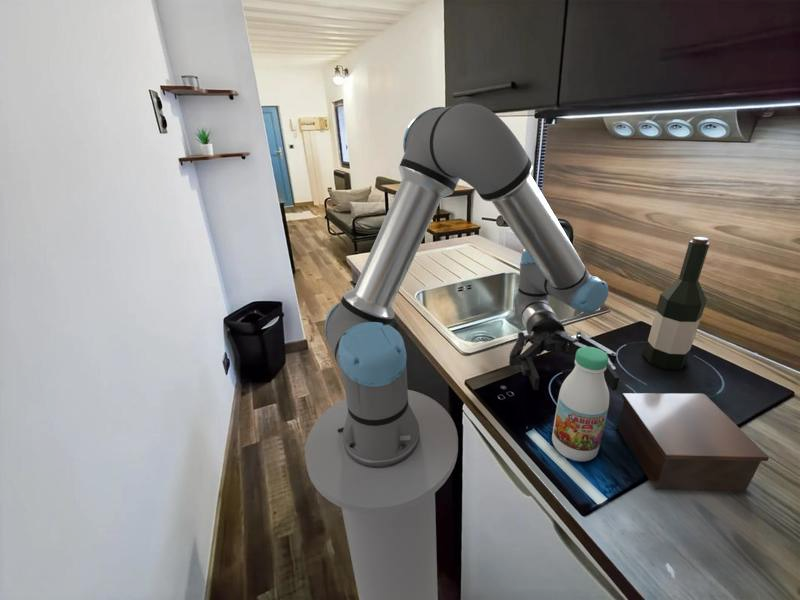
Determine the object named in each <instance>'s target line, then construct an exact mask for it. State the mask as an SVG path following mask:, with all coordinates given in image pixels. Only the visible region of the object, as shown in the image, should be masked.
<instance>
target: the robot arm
mask: <svg viewBox="0 0 800 600" xmlns="http://www.w3.org/2000/svg"><path fill="white" fill-rule="evenodd" d="M402 146H403V147H402V149H403V151H404V152H403V153H404V154H403V156H402V159H401V161H400V163H399V166H398V171H399V173H400V176H401V181H400V183H399V185H398V188H397V190H396V192H395V195H394V197H393V200H392V201H391V204H390V206H389V209H388V210H387V213H386V216H385V218H384V219H383V221H382V224H381V227H380V229H379V232H378V234H377V236H376V238H375V241H374V243H373V245H372V247H371V249H370V252H369V254H368V257H367V258H366V261H365V263H364V266H363V267H362V270H361V273H360V275H359V277H358V279H357V281H356V284H355V286H354V288H352V289H349V290H347V291H345V292H344V293H343V295H342V296H341V299H340V301H339V302H338V303H335V305H333V306H332V307H331V309H330V310H329V311H328V313H327V315H326V317H325V322H324V334H325V338H326V342H327V343H328V346H329V348H330V350H331V353H332V355H333V357H334V360H335V363H336V365H337V368H338V370H339V373H340V376H341V378H342V382H343V386H344V393H345V398H346V401H347V406H348V413H347V417H346V421H345V425H344V427H343V428H340V429H338V432H339V433H340V432H343V442H344V448H345V451H346V453H347V454H348V456H349V457H350V458H351V459H352V460H353V461H355V462H356V463H358V464H360V465H362V466H365V467H370V468H386V467H390V466H394V465H397V464H399V463H401V462H403V461H404V460H406V459H407V458H408V457H409V456H410V455H411V454H412V453H413V452H414V451H415V449H416V447H417V445H418V443H419V424H418V421H417V419H416V417H415V415H414V413H413V411H412V409H411V407H410V405H409V403H408V390H409V389H408V388H409V387H408V372H407V357H408V356H407V351H406V350H407V349H406V346H405V341H404V339H403V337H402V334H401V333H400V331H398V330H397V329H396V328H394V327H393V326H391V325H392V322H393V321H394V318H395V315H396V314H395V312H394V309H393V304H394V302H395V300H396V298H397V295H398V293H399V290H400V289H401V287H402V284H403V283H404V280H405V277H406V276H407V273H408V272H409V269H410V267H411V265H412V263H413V261H414V259H415V256H416V255H417V252H418V250H419V248H420V246H421V244H422V242H423V239H424V237H425V235H426V233H427V231H428V229H429V227H430V224H431V223H432V220H433V218H434V216H435V215H436V212H437V210H438V207H439V205H440V204H441V201H442V199H444V198H445V197H448V196H450V195H453V194H454V192H455V189H456V187H457V185H458V183H459V181H463V182H465V183H467V184H468V185H469V186H470V187H472V188H473V189H474V190H475V191H476V193H477V194H478V195H479V197H480V198H481V199H482V200H483V201H485V202H491V203H492V204H493V206H494V207H495V209H496V210H497V211H498V213H499V214H500V216H501V217H502V218H503V220H504V221H505V223H506V224H507V225H508V227H509V229H510V230H511V231H512V233H513V235H515V237H516V238H517V240H518V241H519V243H520V244H521V245H522V247H523V249H522V251H521V257H520V263H519V277H518V289H517V291H515V294H514V296H513V304H514V305H513V306H514V308H515V311H516V312H517V315H518V316H519V318H520V320H521V322H522V324H523V327H524V328H525V330H526V332H527V335H526V334H525V333H524V332H522V331H518V332H517V339H516V342H515V343H514V346H513V347H512V349H511V351H510V352H509V361H508V365H509V366H511V367H514V366H518V371H520V372H521V373H522V375H523V376H524V377H528V378H529V382H530V384H531V386H532V389H533V391H539V388H540V380H541V378H540V376H539V373H538V371H537V368H536V366H535V364H534V362H533V360H534V359H535V358H536V357H537V356H538V355H539V356H540V355H541V354H543V353H544V352H545V351H546V352H547V353H552V352H558V353H561V352H562V353H564V354H567V355H573V356H576V352H577V350H578V349H579V348H582V347H594V348H597V349H600V350H602V351H604V352H605V353H606V354H607V355H608V363H607V366H606V370H605V371H604V378H605V382H606V384H607V386H609V388H610V389H611V390H612V391H617V390H618V386H619V383H620V377H619V375H618V374H617V372H616V370H617V369H616V366H615V364H616V359H617V355H618V354H617V353H616V352H615V351H613V350H611V349H609V348H608V347H606V346H604V345H603V344H600V343H599V342H597V341H595V340H594V339H592V338H590V337H589V336H587V335H586V334H585V333H584V332H583V331H581V330H580V331H577V332H576V334H572V335H571V334H570V333H569V332H566V329H565V327H564V325H563V323H562V321H561V320H560V319H559V317H558V315H557V313H556V312H555V311H554V310H553V308H552V307H551V305H550V297H553V298H554V299H556V300H558V301H560V302H561V303H563V304H565V305H567V306H569V307H571V309H572V310H573V309H574V310H577V311H580V312H582V313H584V314H592V313H595V312H597V311H598V310H600V308H601V307H602V306H603V305H604V304H605V303H606V301H607V299H608V296H609V292H610V291H609V286H608V284H607V282H606V281H604V280H603V279H600V278H599V277H598V276H596V275H595V276H594V275H592V274H591V273H590V272H589V270H588V269H587V267H586V266H585V264H584V262H583V261H582V259H581V257H580V256H579V253H578V252H577V250H576V249H575V247H574V246H573V244H572V242H571V241H570V239H569V236H568V235H567V233H566V232H565V230H564V228H563V227H562V225H561V224H560V222H559V220H558V218H557V216H556V215H555V214H554V212H553V210H552V209H551V207H550V205H549V203H548V202H547V199H546V198H545V196H544V195H543V193H542V191H541V189H540V188H539V186H538V184H537V182H536V181H535V179H534V178H533V176H532V174H531V173H532V171H533V163H532V161H531V158H530V157H529V155H528V154H527V152H526V149H524V147H523V145H522V144H521V142H520V141H519V140H518V138H517V136H516V135H515V133H514V132H513V131H512V130H511V128H510V127H508V125H507V124H506V123H505V121H503V120H502V119H501V118H500V117H499V116H498V115H497V114H496V113H494V112H493V111H492V110H490V109H489V108H487V107H485V106H484V105H481V104H477V103H473V102H471V103H470V102H467V103H459V104H457V105H452V106H451V105H450V106H437V107H432V108H429V109H427V110H425V111H423V112H421V113H420V114H418V115H416V116H415V117H414V118H413V119H412V120H411V122H410V123H409V124H408V126H407V127H406V130H405V132H404V135H403V143H402ZM528 343H530V345H529V346H528V348H526V349H525V350H524V348H525V347H526V346H527V344H528Z"/></svg>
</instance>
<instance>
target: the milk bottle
mask: <svg viewBox="0 0 800 600" xmlns="http://www.w3.org/2000/svg"><path fill="white" fill-rule="evenodd" d="M574 356H575V358H574V368H573V369H572V371H571V372H570V373H569V374H568V375H567V376H566V377H565V379H564V380H563V382H562V384H561V386H560V389H559V393H558V398H557V404H556V408H555V414H554V421H553V427H552V434H551V442H552V444H553V447H554V448H555V449H556V451H557V452H558V453H559V454H560V455H562V456H563V457H565V458H567V459H569V460H572V461H574V462H575V461H576V462H587V461H589V462H590V461H591V460H593V459H594V458H596V457H597V455H598V454H599V450H600V447H601V442H602V438H603V434H604V429H605V425H606V421H607V417H608V412H609V407H610V392H609V388H608V384H607V382H606V381H605V378H604V371H605V370H606V366H607V363H608V355H607V354H606V353H605V352H604V351H602V350H600V349H597V348H594V347H582V348H579V349H578V350H577V352H576V355H574Z"/></svg>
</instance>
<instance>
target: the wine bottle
mask: <svg viewBox="0 0 800 600" xmlns="http://www.w3.org/2000/svg"><path fill="white" fill-rule="evenodd" d="M710 245H711V242H709V238H708V237H703V236H694V237H693V238H692V239H691V240H690V241H689V242H688V245H687V249H686V252H685V256H684V259H683V262H682V266H681V269H680V273H679V276H678V278H677V279H676V280H675V281H674V282H673V283H671V284H670V285H669V286H668V287H667V288H666V289H664V290H663V291H662V292H661V293H660V294H659V298H658V302H657V306H656V309H655V313H654V316H653V319H652V324H651V328H650V332H649V334H648V339H647V343H646V345H645V349H644V353H643V357H645V359H646V360H647V361H648V363H649V364H651V365H653V366H657V367H659V368H662V369H665V370H681V369H683V367H684V366H685V365H686V364H687V361H688V358H689V355H690V352H691V349H692V346H693V343H694V340H695V338H696V334H697V330H698V328H699V325H700V322H701V319H702V316H703V313H704V310H705V307H706V304H707V301H708V300H707V297H706V295H705V292H704V290H703V288H702V286H701V284H700V281H699V280H700V277H701V274H702V269H703V267H704V264H705V260H706V258H707V254H708V251H709V248H710Z"/></svg>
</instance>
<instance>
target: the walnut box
mask: <svg viewBox="0 0 800 600" xmlns="http://www.w3.org/2000/svg"><path fill="white" fill-rule="evenodd" d="M621 398H622V399H623V404H622V407H621V410H620V415H619V419H618V422H617V426H616V428H617V430H618V432H619V433H620V435H621V436H622V438H623V440H624V441H625V443H626V445H627V446H628V448H629V450H630V451H631V453H632V455H633V456H634V458H635V460H636V461H637V463H638V464H639V465H640V468H641V469H642V471H643V472H644V474H645V475H646V478H647V479H648V480H649V482H650V483H651V485H652V486H653V488H654V490H664V491H665V490H667V491H696V492H697V491H698V492H700V491H701V492H733V493H737V492H738V493H746V491H747V489H748V487H749V486H750V483H751V481H752V480H753V478H754V476H755V474H756V471H757V470H758V468H759V466H760V464H761V463H762V462H768V461H769V459H770V457H769V456H768V455H767V454H766V453H765V452H764V450H763V449H762V448H761V447H759V446H758V445H757V443H755V442H754V440H753V439H751V438H750V437H749V436H748V435H747V434H746V433H745V432H744V431H743V430H742V429H741V428H740V427H739V426H738V425H737V424H736V423H735V422H734V421H733V420H732V419H731V418H730V417H729V416H728V415H727V414H726V413H725V412H724V411H723V410H722V409H720V407H719V406H718V405H716V403H715V402H714V401H712V400H711V398H709V397H708V395H706V394H705V393H675V392H674V393H673V392H671V393H670V392H669V393H667V392H666V393H665V392H664V393H663V392H662V393H661V392H658V393H655V392H653V393H651V392H649V393H648V392H647V393H646V392H643V393H641V392H638V393H637V392H628V393H627V392H622V393H621Z"/></svg>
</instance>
